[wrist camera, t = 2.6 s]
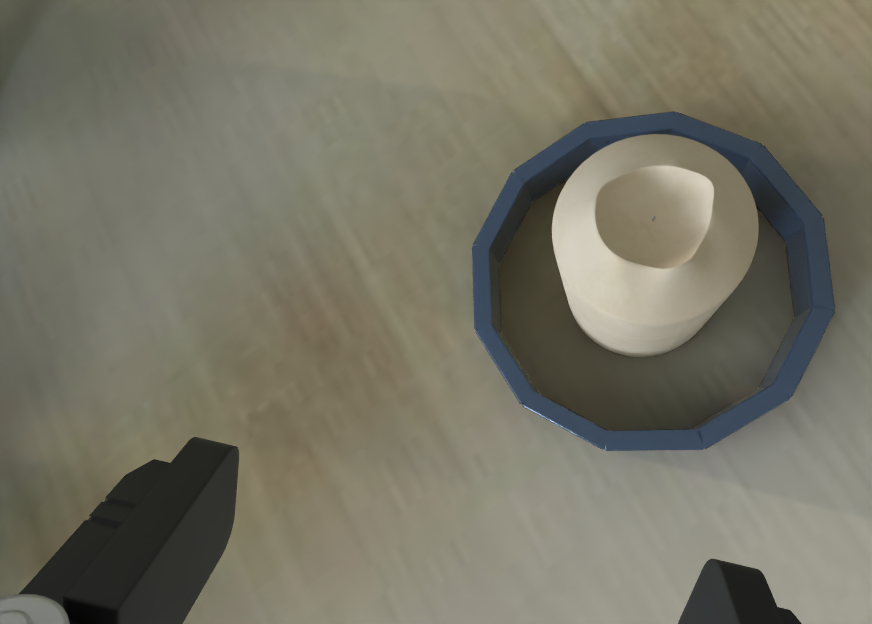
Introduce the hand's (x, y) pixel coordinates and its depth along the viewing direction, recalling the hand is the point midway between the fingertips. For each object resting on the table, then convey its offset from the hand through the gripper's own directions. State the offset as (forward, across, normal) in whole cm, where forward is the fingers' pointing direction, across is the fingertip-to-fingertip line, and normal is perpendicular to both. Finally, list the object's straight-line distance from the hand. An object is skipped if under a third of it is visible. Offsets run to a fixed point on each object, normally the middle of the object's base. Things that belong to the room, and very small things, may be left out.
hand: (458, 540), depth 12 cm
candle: (+17, -6, +1) cm, 18 cm away
